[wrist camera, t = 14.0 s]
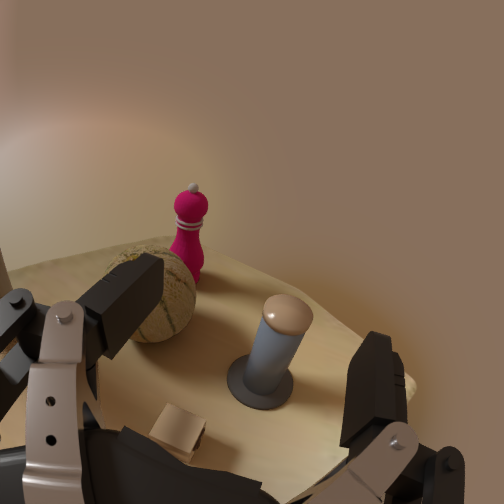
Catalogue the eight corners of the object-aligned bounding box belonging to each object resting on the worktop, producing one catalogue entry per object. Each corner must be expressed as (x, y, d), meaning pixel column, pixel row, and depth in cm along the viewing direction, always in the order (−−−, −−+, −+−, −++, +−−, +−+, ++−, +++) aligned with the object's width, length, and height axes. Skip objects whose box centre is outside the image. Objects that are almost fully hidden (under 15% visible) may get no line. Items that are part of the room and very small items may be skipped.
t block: (152, 447, 28) (148, 434, 26) (168, 418, 33) (167, 402, 30) (190, 464, 28) (191, 454, 25) (205, 434, 32) (208, 420, 29)
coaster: (217, 395, 37) (217, 393, 37) (239, 347, 46) (239, 345, 46) (284, 418, 36) (285, 416, 36) (297, 367, 44) (298, 365, 44)
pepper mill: (179, 262, 62) (189, 173, 52) (208, 275, 60) (222, 184, 50) (159, 278, 56) (164, 182, 46) (188, 293, 54) (199, 195, 44)
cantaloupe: (206, 315, 51) (217, 243, 43) (168, 376, 38) (167, 303, 30) (137, 286, 53) (135, 216, 45) (90, 335, 40) (73, 259, 32)
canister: (236, 388, 38) (258, 319, 31) (248, 360, 43) (270, 288, 36) (274, 401, 38) (309, 336, 30) (283, 371, 43) (315, 303, 35)
